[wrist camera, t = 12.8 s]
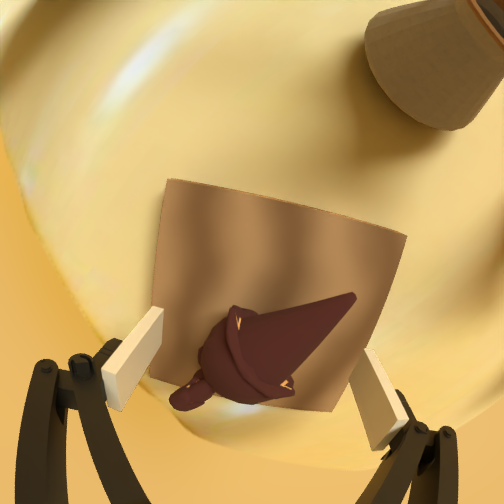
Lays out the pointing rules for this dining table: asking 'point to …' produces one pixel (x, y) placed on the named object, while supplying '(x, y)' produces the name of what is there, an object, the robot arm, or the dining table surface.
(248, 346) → the icecream
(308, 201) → the dining table surface
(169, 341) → the serving board
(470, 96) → the coffee pot
